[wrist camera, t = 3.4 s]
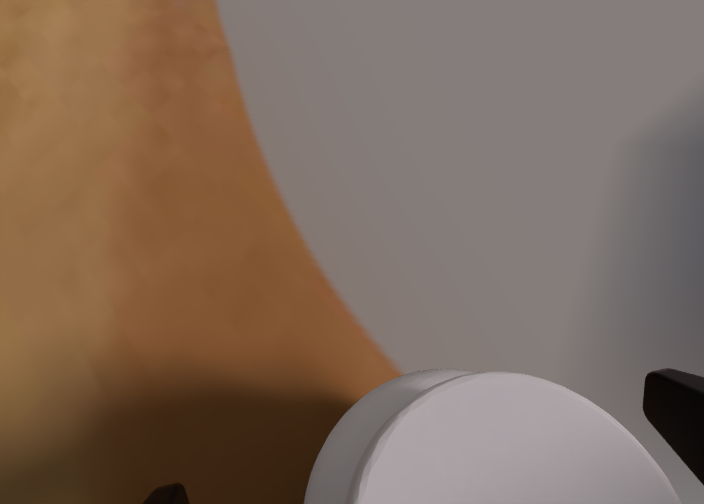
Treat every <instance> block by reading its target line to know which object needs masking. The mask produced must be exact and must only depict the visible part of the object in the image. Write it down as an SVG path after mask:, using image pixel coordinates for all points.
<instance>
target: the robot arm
mask: <svg viewBox="0 0 704 504" xmlns="http://www.w3.org/2000/svg"><path fill="white" fill-rule="evenodd" d="M643 411H644V414H645V416H646V417H647V419H648V420H649V422H650V423H651V424H652V425H653V426H654V428H655V429H656V430H657V431H658V432H659V434H660V435H661V436H662V437H663V438H664V439H665V440H666V442H667V443H668V444H669V445H670V446H671V447H672V449H673V450H674V451H675V452H676V453H677V455H678V456H679V457H680V458H681V459H682V461H683V462H684V463H685V464H686V465H687V466H688V468H689V469H690V470H691V471H692V472H693V473H694V474H695V476H696V477H697V478H698V479H699V480H700V482H701V483H702V484H703V485H704V377H701V376H697V375H693V374H689V373H686V372H682V371H678V370H674V369H669V368H666V369H661V370H657V371H652V372H650V373H648V374H647V376H646V378H645V386H644V397H643ZM142 504H189V501H188V498H187V494H186V491H185V488H184V486H183V485H182V484H181V483H174V484H169V485H165V486H161V487H158V488H156V489H155V490H154V491H153V492H152V493H151V494H150V495H149V496H148V498H147V499H146V500H145V501H144V502H143V503H142Z"/></svg>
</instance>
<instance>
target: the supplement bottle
mask: <svg viewBox="0 0 704 504" xmlns="http://www.w3.org/2000/svg"><path fill="white" fill-rule="evenodd" d="M304 504H682V503H681V501H680V499H679V497H678V496H677V494H676V493H675V491H674V489H673V487H672V486H671V484H670V482H669V480H668V478H667V477H666V476H665V474H664V473H663V471H662V470H661V468H660V467H659V466H658V465H657V464H656V462H655V461H654V459H653V458H652V457H651V456H650V455H649V453H648V452H647V451H646V450H645V448H644V447H643V446H642V445H641V444H640V443H639V442H638V441H637V440H636V438H635V437H634V436H633V435H632V434H631V433H630V432H628V431H627V430H626V429H625V428H624V427H623V426H622V425H621V424H620V423H619V422H618V421H616V420H615V419H614V418H613V417H612V416H610V415H609V414H608V413H606V412H605V411H604V410H602V409H601V408H599V407H598V406H596V405H595V404H594V403H592V402H591V401H589V400H587V399H586V398H584V397H582V396H580V395H579V394H577V393H575V392H573V391H571V390H569V389H567V388H565V387H563V386H560V385H558V384H555V383H553V382H550V381H548V380H544V379H541V378H537V377H534V376H530V375H527V374H520V373H512V372H500V371H492V372H491V371H489V372H471V371H465V370H458V369H430V370H423V371H417V372H413V373H409V374H406V375H403V376H400V377H398V378H395V379H392V380H390V381H388V382H386V383H384V384H382V385H380V386H378V387H376V388H375V389H373V390H372V391H370V392H369V393H367V394H366V395H365V396H364V397H362V398H361V399H360V400H359V401H357V402H356V403H355V404H354V405H353V406H352V407H351V408H350V409H349V410H348V411H347V412H346V413H345V414H344V415H343V417H342V418H341V419H340V420H339V422H338V423H337V424H336V425H335V427H334V428H333V429H332V431H331V432H330V434H329V435H328V437H327V439H326V441H325V443H324V445H323V447H322V449H321V450H320V452H319V454H318V456H317V459H316V461H315V463H314V466H313V469H312V471H311V474H310V477H309V481H308V485H307V489H306V494H305V498H304Z"/></svg>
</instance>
